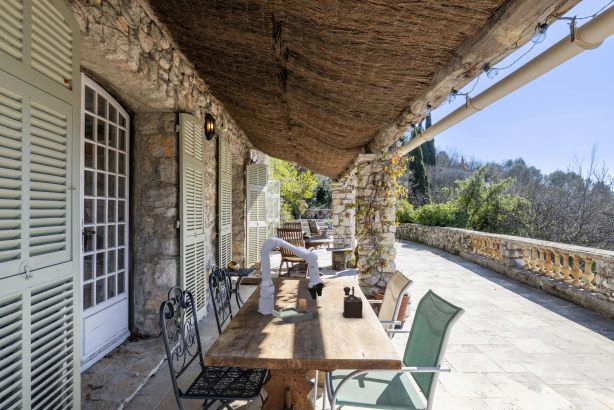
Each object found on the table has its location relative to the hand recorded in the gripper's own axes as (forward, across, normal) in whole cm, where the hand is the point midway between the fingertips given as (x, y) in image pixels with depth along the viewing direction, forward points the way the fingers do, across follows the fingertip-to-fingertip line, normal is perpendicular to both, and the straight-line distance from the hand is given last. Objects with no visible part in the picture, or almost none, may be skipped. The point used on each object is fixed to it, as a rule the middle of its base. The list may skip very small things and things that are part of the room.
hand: (317, 297), depth 200 cm
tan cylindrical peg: (+9, +4, +12) cm, 15 cm away
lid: (+5, -17, +12) cm, 21 cm away
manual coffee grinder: (+13, +7, -17) cm, 23 cm away
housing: (+9, -9, +11) cm, 17 cm away
